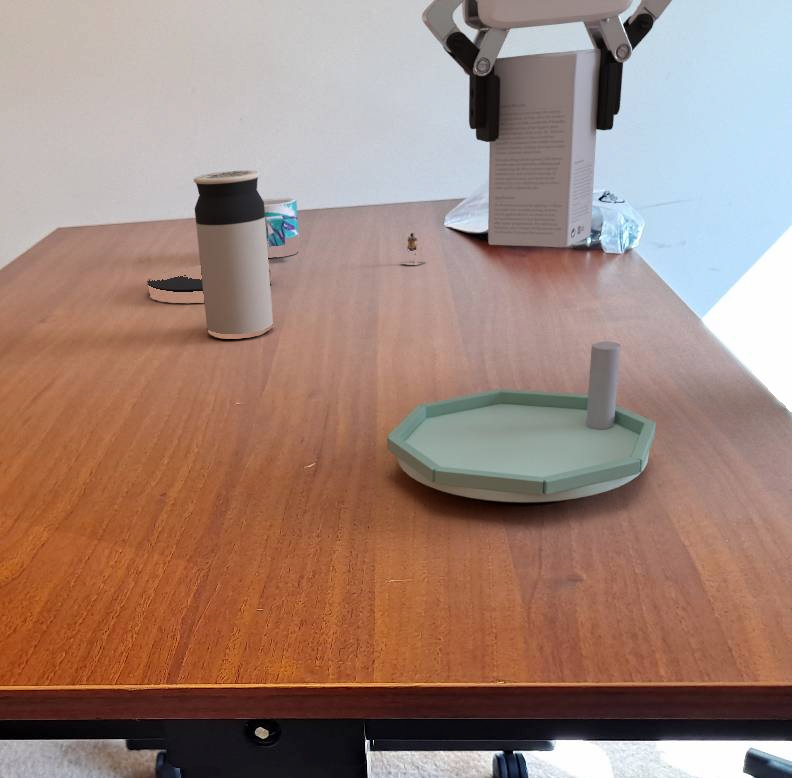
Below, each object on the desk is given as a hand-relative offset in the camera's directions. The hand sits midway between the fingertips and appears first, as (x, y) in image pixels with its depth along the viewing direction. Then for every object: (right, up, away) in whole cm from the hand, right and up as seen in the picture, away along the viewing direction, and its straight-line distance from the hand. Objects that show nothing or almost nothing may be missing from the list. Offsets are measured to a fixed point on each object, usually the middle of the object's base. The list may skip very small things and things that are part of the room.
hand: (542, 132), depth 66 cm
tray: (0, -21, +7) cm, 22 cm away
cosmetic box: (+1, -7, +3) cm, 7 cm away
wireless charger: (-26, +9, +76) cm, 80 cm away
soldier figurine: (+4, +14, +80) cm, 81 cm away
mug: (-16, +19, +95) cm, 98 cm away
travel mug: (-21, -3, +52) cm, 56 cm away
